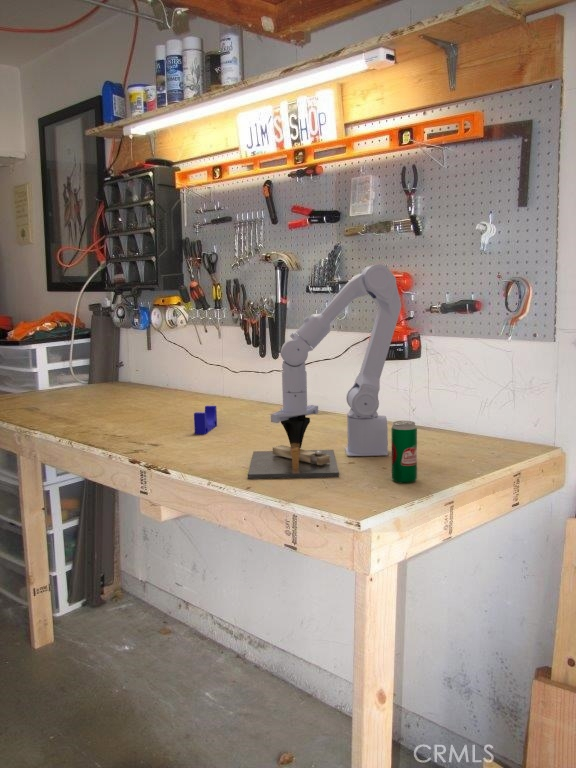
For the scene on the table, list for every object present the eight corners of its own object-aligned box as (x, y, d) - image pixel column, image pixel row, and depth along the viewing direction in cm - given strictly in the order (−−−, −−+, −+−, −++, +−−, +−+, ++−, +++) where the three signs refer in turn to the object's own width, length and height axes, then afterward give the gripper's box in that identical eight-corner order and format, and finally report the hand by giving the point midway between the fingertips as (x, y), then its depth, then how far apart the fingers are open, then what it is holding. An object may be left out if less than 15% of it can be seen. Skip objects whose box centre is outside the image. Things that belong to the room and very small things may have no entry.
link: (330, 462, 149) (330, 455, 149) (319, 465, 147) (319, 458, 147) (283, 451, 160) (282, 444, 160) (271, 454, 158) (271, 447, 157)
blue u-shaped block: (202, 425, 200) (201, 405, 199) (217, 426, 199) (216, 405, 198) (189, 434, 188) (188, 413, 187) (205, 435, 187) (204, 413, 186)
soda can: (404, 485, 135) (404, 426, 133) (386, 480, 139) (386, 422, 138) (422, 481, 138) (422, 422, 136) (404, 475, 142) (404, 419, 140)
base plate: (333, 453, 162) (333, 431, 161) (339, 477, 142) (338, 451, 142) (253, 455, 162) (252, 432, 162) (247, 479, 143) (247, 453, 142)
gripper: (302, 385, 167) (303, 440, 169) (260, 393, 157) (262, 451, 159) (324, 388, 163) (325, 444, 165) (282, 396, 152) (284, 455, 154)
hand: (295, 448), depth 161 cm, fingers closed
